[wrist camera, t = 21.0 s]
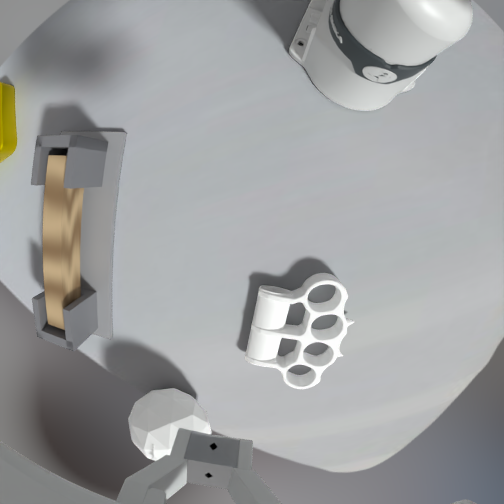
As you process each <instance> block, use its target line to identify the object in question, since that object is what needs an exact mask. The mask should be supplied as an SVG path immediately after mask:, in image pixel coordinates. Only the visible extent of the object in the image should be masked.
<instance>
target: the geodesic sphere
mask: <svg viewBox="0 0 504 504" xmlns="http://www.w3.org/2000/svg"><path fill="white" fill-rule="evenodd" d="M128 421H129V427H130V433H131V438H132V441H133V442H134V444H135V445H136V446H137V447H138V448H139V449H140V450H141V452H143V454H144V455H145V456H146V457H147V458H148V459H152V460H155V461H157V460H159V459H160V458H162V457H163V456H165V455H170V453H171V450H172V447H173V444H174V441H175V438H176V435H177V432H178V429H179V428H183V429H188V430H192V431H197V432H201V433H206V434H211V428H210V424H209V420H208V416H207V411H206V410H205V409H204V408H203V407H202V406H201V405H200V404H199V403H198V402H197V401H196V400H195V399H194V398H193V397H192V396H191V395H189V394H187V393H184V392H182V391H180V390H177V389H175V388H169V389H161V390H152V391H150V392H149V393H147V394H146V395H145V396H143V397H142V398H141V399H139V400H138V401H136V402H135V404H134V406H133V409H132V411H131V414H130V416H129V418H128Z"/></svg>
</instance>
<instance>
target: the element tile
mask: <svg viewBox="0 0 504 504" xmlns="http://www.w3.org/2000/svg"><path fill="white" fill-rule="evenodd" d="M16 146H17V132H16V116H15V88H14V86H12V85H9V84H6V83H2V82H0V163H1V162H2V161H3V160H5V159H6V158H7V157H9V156H10V155H11V154H12V153H13V152H14V151H15V149H16Z"/></svg>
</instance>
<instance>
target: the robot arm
mask: <svg viewBox="0 0 504 504" xmlns="http://www.w3.org/2000/svg"><path fill="white" fill-rule="evenodd" d="M472 19H473V10H472V4H471V0H311V1H310V3H309V6H308V8H307V10H306V12H305V14H304V16H303V19H302V21H301V23H300V25H299V27H298V30H297V32H296V34H295V36H294V39H293V41H292V43H291V45H290V48H289V54H290V55H291V57H292V58H293V59H294V60H296V61H297V62H298V63H299V64H301V65H302V66H303V67H304V68H305V70H306V71H307V73H308V75H309V77H310V79H311V80H312V82H313V83H314V85H315V86H316V87H317V88H318V89H319V90H320V92H322V93H323V94H324V95H325V96H326V97H327V98H329V99H330V100H332V101H333V102H335V103H337V104H339V105H341V106H343V107H346V108H349V109H353V110H359V111H370V110H375V109H379V108H381V107H383V106H385V105H387V104H388V103H389V102H391V101H392V100H393V99H394V98H395V96H397V95H398V94H399V93H403V92H407V91H409V90H411V89H412V88H413V87H414V86H415V79H416V78H418V77H419V76H420V75H421V74H422V73H423V72H424V71H425V70H426V68H427V67H428V66H429V65H430V64H431V63H432V62H433V61H434V60H435V58H436V56H437V55H438V54H439V53H441V52H442V51H444V50H445V49H447V48H448V47H450V46H451V45H453V44H454V43H456V42H457V41H459V40H460V39H462V38H463V37H464V36H465V35H466V34H467V32H468V31H469V29H470V27H471V24H472ZM298 43H302V44H303V46H299V45H298ZM252 449H253V442H252V440H245V439H239V438H231V437H224V436H218V435H211V434H206V433H201V432H197V431H192V430H188V429H183V428H179V429H178V432H177V435H176V438H175V441H174V444H173V447H172V450H171V453H170V455H165V456H163V457H162V458H160V459H159V460H157V461H155V462H154V463H152V464H150V465H149V466H147V467H145V468H144V469H142V470H140V471H138V472H137V473H135V474H133V475H132V476H130V477H128V478H126V479H125V482H124V484H123V486H122V489H121V491H120V493H119V496H118V498H117V500H116V501H114V500H112V499H109V498H106V497H104V496H101V495H99V494H96V493H94V492H92V491H89V490H87V489H84V488H82V487H80V486H78V485H76V484H74V483H72V482H70V481H67V480H65V479H63V478H61V477H59V476H57V475H56V474H54V473H52V472H50V471H48V470H46V469H44V468H43V467H41V466H39V465H37V464H35V463H34V462H32V461H30V460H29V459H27V458H26V457H24V456H22V455H21V454H19V453H18V452H16V451H15V450H13V449H12V448H10V447H9V446H7V445H6V444H4V443H3V442H1V441H0V504H167V499H168V498H169V497H170V496H172V495H173V494H174V493H175V492H176V491H178V490H179V489H180V488H181V487H183V486H184V485H185V484H186V482H188V483H193V484H199V485H205V486H211V487H216V488H221V489H227V490H228V492H229V493H230V495H231V497H232V499H233V500H234V502H235V504H282V503H281V502H280V501H279V500H278V498H277V497H276V496H275V495H274V494H273V493H272V491H271V490H270V489H269V487H268V486H267V485H266V484H265V482H264V481H263V480H262V479H261V477H260V476H259V475H258V473H257V472H256V471H255V470H252ZM453 504H476V503H474V502H472V501H469V500H462V501H458V502H456V503H453Z"/></svg>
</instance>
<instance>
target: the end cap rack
mask: <svg viewBox="0 0 504 504" xmlns="http://www.w3.org/2000/svg"><path fill="white" fill-rule="evenodd" d="M126 135H127V133H125V132H103V131H67V132H61V133H60V135H46V136H37V140H36V147H35V153H34V161H33V169H32V179H31V185H45V181H46V172H47V163H48V156H49V155H57V156H67V162H66V169H65V178H64V188H69V189H73V188H84V193H83V205H82V219H81V241H80V286H81V297H80V298H78V299H77V300H75V301H74V302H72V303H71V304H69V305H68V306H66V307H65V308H64V309H63V316H64V326H65V330H63V329H61V328H58V327H55V326H52V325H50V324H48V319H47V310H46V301H45V291H44V292H42V293H40V294H38V295H37V296H35V297H33V298H32V302H33V311H34V317H35V325H36V331H37V337H39V338H42V339H44V340H46V341H49V342H51V343H54V344H56V345H59V346H61V347H64V348H66V349H69V350H72V351H75V350H76V349H77V348H78V347H79V346H80V345H81V344H82V343H83V342H84V341H85V340H86V339H87V338H88V337H89V336H90V335H91V334H94V335H98V336H101V337H104V338H107V339H111V338H112V337H113V324H112V267H113V245H114V229H115V217H116V206H117V197H118V188H119V180H120V173H121V166H122V159H123V153H124V147H125V141H126Z"/></svg>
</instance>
